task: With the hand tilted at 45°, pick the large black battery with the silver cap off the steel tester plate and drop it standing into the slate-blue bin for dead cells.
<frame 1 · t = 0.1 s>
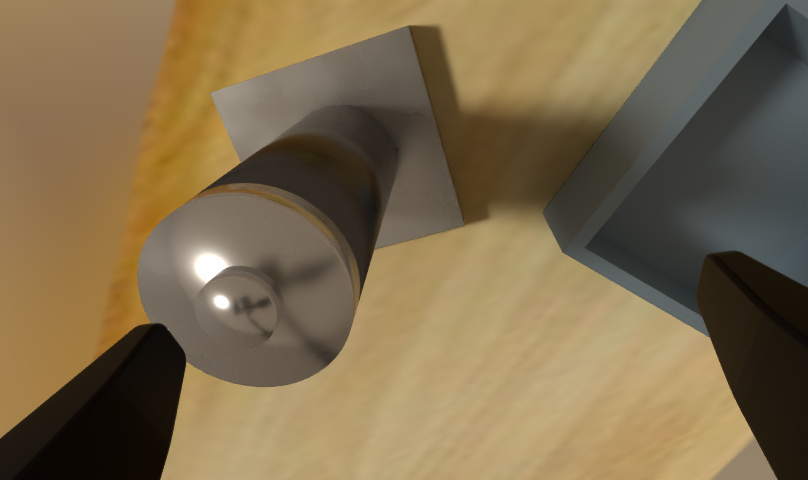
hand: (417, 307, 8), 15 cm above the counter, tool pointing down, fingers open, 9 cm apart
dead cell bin: (719, 173, 22), on the counter
battery: (342, 161, 22), point 1 cm above the counter, touching tester plate
tester plate: (345, 156, 23), on the counter
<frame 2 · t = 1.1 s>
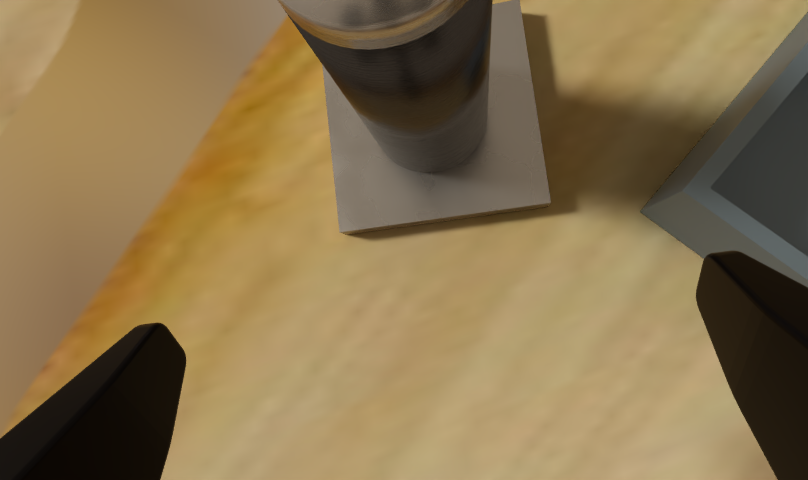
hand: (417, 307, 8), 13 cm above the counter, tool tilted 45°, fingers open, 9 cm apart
battery: (429, 116, 21), point 1 cm above the counter, touching tester plate
tester plate: (431, 123, 22), on the counter
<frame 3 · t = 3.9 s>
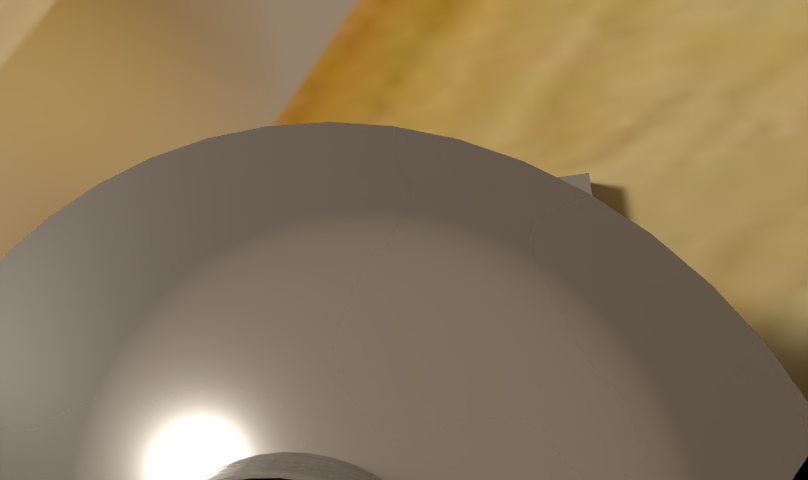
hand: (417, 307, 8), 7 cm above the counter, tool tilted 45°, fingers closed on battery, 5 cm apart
battery: (450, 349, 14), point 1 cm above the counter, touching gripper, tester plate
tester plate: (452, 345, 15), on the counter
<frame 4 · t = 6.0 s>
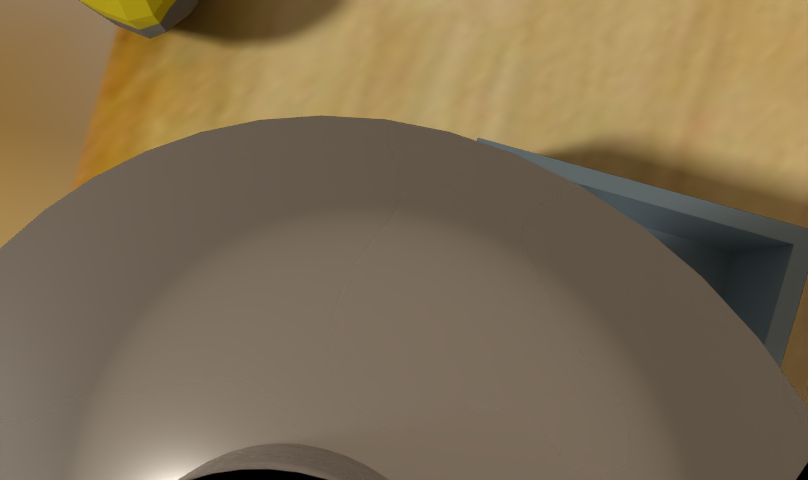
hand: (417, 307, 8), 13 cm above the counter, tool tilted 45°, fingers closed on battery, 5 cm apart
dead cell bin: (566, 330, 21), on the counter
battery: (449, 348, 14), point 7 cm above the counter, touching gripper
when the fingers open (8 cm above the counter, at t = 8.1 s): battery drops 1 cm, resting on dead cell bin.
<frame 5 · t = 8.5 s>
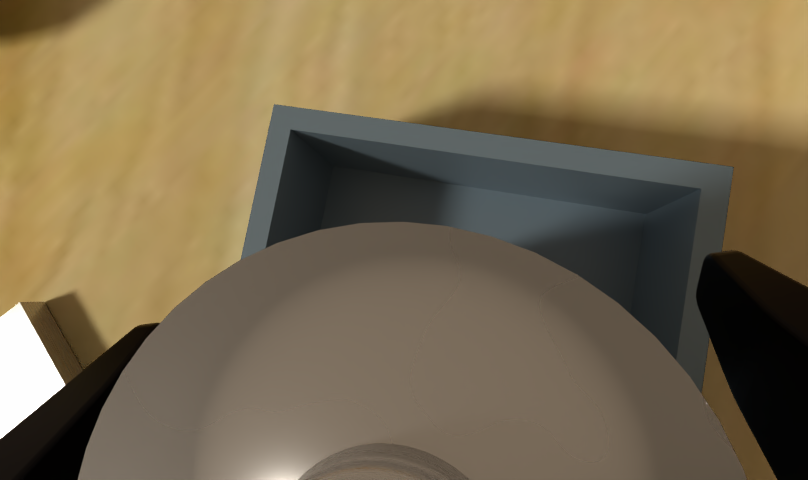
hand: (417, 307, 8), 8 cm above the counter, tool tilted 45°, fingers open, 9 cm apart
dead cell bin: (454, 342, 16), on the counter
battery: (453, 346, 15), point 1 cm above the counter, touching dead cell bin
tester plate: (7, 475, 18), on the counter
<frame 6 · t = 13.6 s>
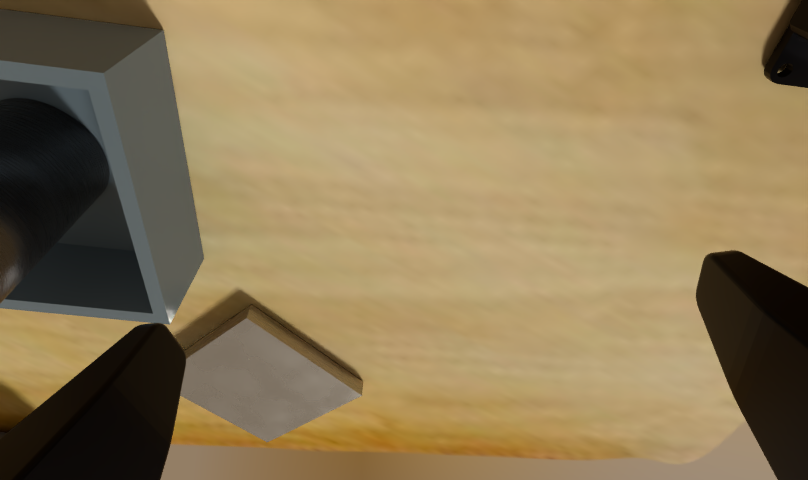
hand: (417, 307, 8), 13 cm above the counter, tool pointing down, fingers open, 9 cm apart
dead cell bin: (54, 147, 21), on the counter
battery: (47, 154, 21), point 1 cm above the counter, touching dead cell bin
tester plate: (262, 374, 31), on the counter
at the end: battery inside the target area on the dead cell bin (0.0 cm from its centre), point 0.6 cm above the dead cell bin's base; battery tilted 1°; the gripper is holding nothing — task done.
